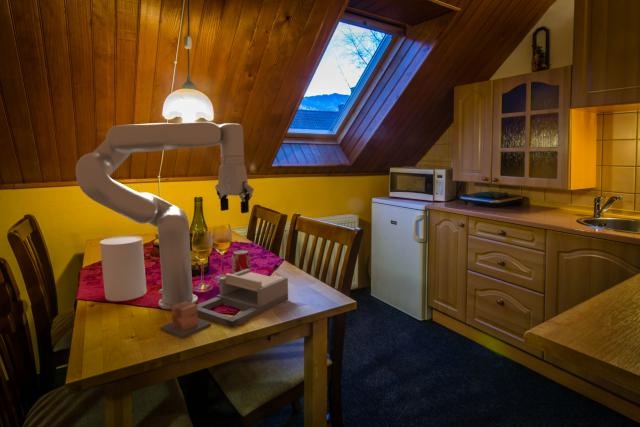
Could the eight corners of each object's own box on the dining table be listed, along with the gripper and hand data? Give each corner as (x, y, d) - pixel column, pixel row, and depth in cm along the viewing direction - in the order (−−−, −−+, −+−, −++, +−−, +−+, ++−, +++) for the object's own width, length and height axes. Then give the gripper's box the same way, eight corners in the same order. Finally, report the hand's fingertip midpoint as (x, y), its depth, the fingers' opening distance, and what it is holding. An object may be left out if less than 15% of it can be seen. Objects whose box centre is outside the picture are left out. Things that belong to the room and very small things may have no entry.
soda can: (247, 285, 158) (245, 254, 156) (229, 283, 159) (228, 253, 157) (253, 279, 164) (252, 249, 162) (236, 278, 166) (235, 249, 164)
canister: (120, 303, 140) (114, 246, 136) (97, 296, 147) (91, 241, 143) (154, 291, 151) (150, 238, 148) (131, 285, 158) (127, 234, 155)
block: (173, 325, 120) (171, 306, 120) (187, 319, 125) (186, 301, 124) (183, 330, 118) (182, 310, 117) (198, 324, 122) (197, 304, 121)
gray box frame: (190, 313, 131) (188, 289, 130) (247, 289, 153) (247, 268, 151) (232, 327, 121) (231, 301, 120) (288, 300, 142) (287, 277, 141)
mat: (160, 329, 120) (160, 327, 120) (188, 317, 128) (188, 315, 128) (182, 338, 114) (182, 336, 114) (210, 325, 122) (210, 323, 122)
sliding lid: (225, 283, 140) (225, 274, 140) (250, 274, 150) (249, 265, 150) (259, 292, 132) (258, 282, 131) (283, 281, 142) (282, 272, 141)
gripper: (206, 161, 140) (209, 210, 143) (243, 162, 131) (245, 215, 134) (223, 160, 146) (225, 208, 149) (259, 161, 137) (260, 212, 140)
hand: (234, 211), depth 141 cm, fingers open, 9 cm apart
